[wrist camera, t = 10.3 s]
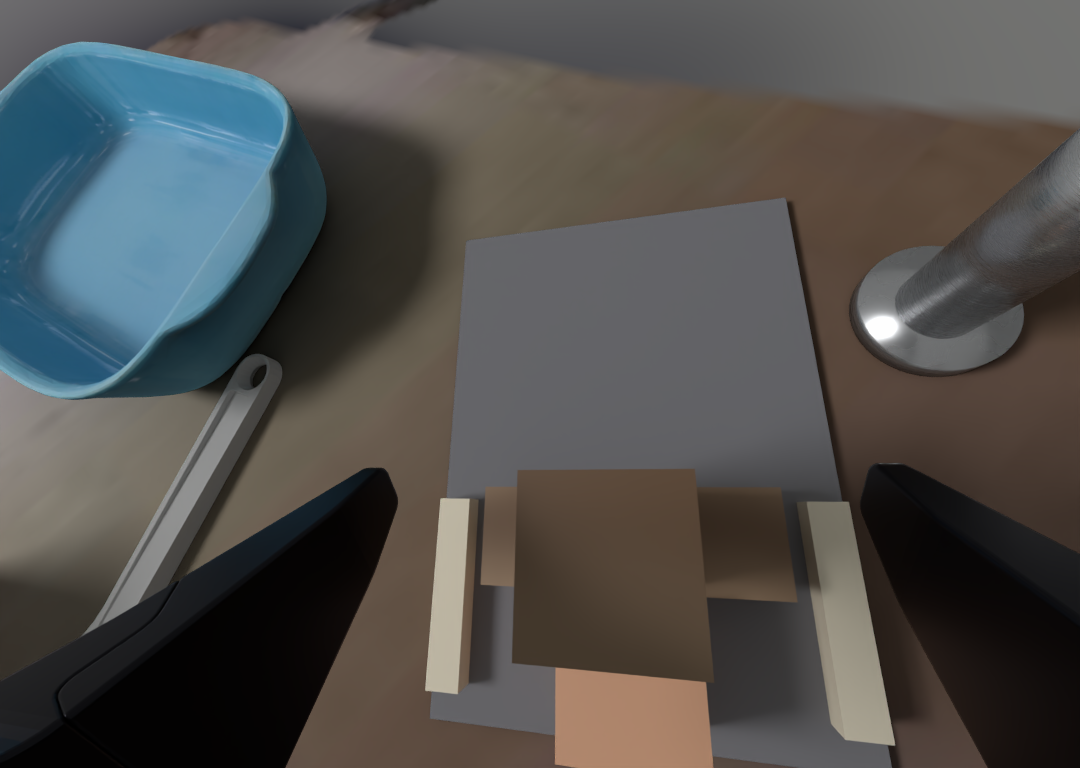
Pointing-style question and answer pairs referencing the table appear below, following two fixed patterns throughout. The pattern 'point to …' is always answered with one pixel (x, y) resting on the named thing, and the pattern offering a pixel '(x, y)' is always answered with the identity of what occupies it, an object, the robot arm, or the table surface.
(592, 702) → the terracotta block
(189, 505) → the adjustable wrench
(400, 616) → the table surface
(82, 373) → the casserole dish
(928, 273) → the grey metal stick
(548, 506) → the wooden block on base
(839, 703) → the mat
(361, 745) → the table surface
